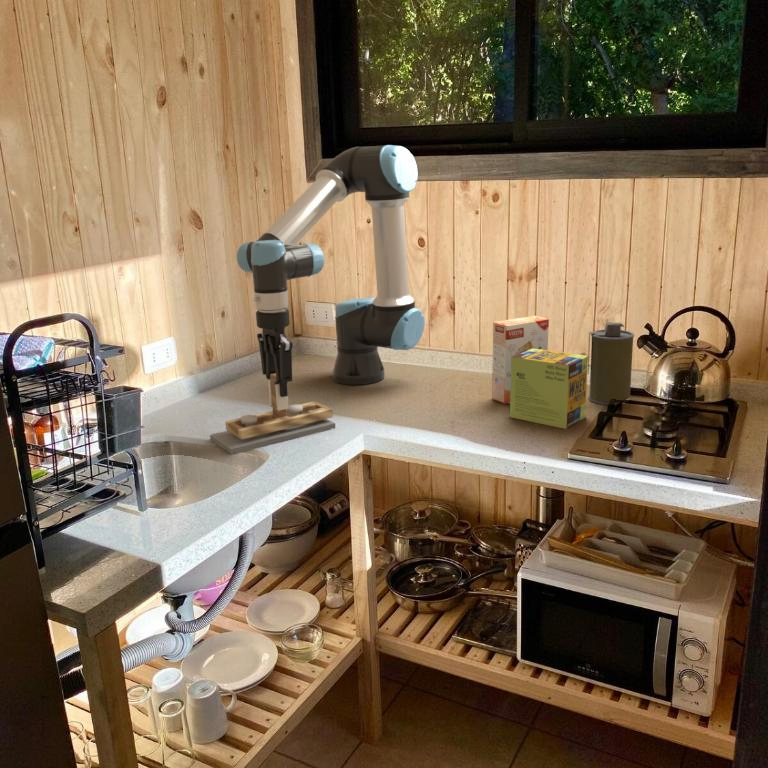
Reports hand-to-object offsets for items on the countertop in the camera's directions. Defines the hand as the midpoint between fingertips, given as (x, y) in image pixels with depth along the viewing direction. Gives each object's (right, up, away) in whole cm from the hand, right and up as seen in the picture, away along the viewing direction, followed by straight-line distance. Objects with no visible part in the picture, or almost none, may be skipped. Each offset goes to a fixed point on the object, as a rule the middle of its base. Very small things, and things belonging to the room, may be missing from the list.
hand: (279, 407), depth 189 cm
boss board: (-1, -6, +1) cm, 7 cm away
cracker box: (+61, +2, +21) cm, 64 cm away
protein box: (+65, -3, +5) cm, 65 cm away
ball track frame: (0, -4, +1) cm, 4 cm away
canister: (+83, +1, +17) cm, 84 cm away
